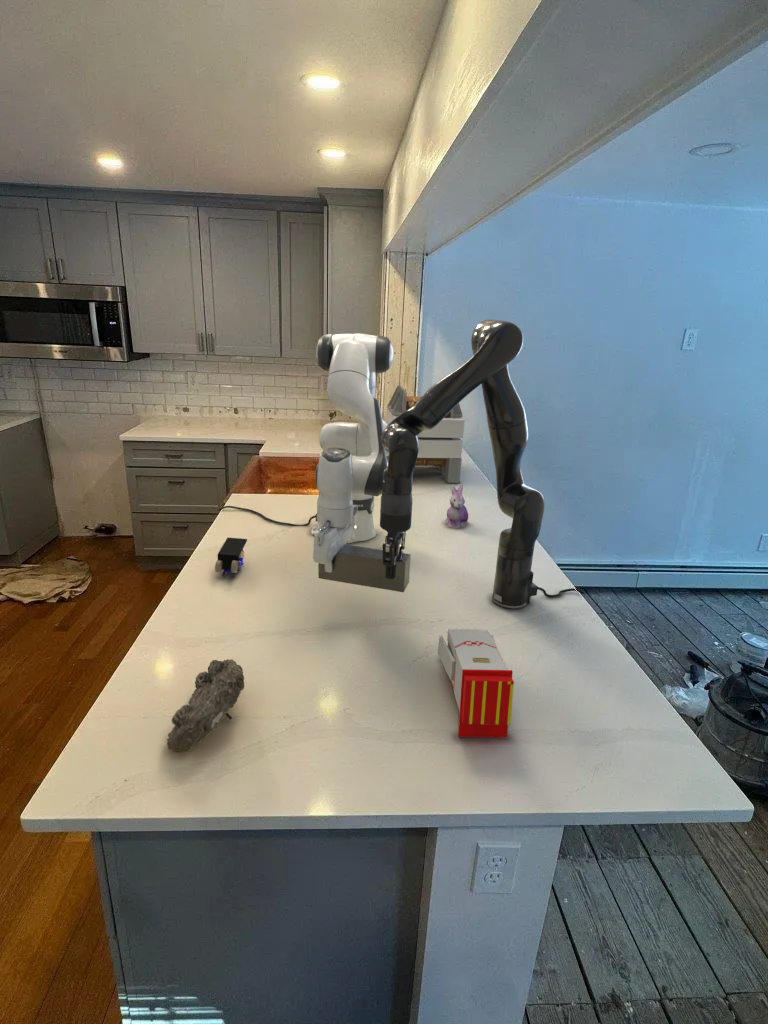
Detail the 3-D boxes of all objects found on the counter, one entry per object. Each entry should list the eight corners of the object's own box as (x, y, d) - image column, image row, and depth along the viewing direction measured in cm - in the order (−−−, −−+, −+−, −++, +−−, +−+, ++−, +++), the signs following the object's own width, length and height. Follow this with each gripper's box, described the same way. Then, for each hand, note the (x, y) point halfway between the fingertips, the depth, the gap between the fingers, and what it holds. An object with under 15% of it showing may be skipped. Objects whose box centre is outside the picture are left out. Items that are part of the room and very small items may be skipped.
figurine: (453, 530, 205) (457, 490, 200) (438, 521, 213) (441, 482, 208) (475, 527, 209) (479, 488, 204) (459, 517, 217) (462, 480, 212)
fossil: (192, 660, 117) (244, 628, 112) (224, 691, 120) (276, 661, 115) (142, 746, 98) (202, 712, 93) (182, 779, 101) (242, 748, 96)
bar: (318, 578, 144) (318, 549, 141) (326, 569, 149) (326, 541, 146) (403, 592, 138) (405, 562, 136) (408, 582, 143) (410, 554, 140)
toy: (488, 613, 130) (523, 677, 101) (484, 667, 133) (517, 744, 104) (435, 612, 130) (455, 676, 101) (432, 666, 133) (451, 743, 103)
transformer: (382, 463, 289) (386, 382, 275) (445, 464, 293) (451, 384, 279) (390, 482, 257) (394, 392, 243) (460, 483, 261) (468, 394, 247)
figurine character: (238, 584, 162) (249, 557, 175) (236, 562, 158) (247, 536, 172) (215, 584, 161) (227, 556, 175) (212, 561, 158) (225, 535, 171)
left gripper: (331, 531, 129) (331, 585, 134) (359, 504, 148) (358, 552, 153) (306, 527, 131) (306, 581, 136) (337, 500, 150) (336, 548, 154)
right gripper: (404, 521, 127) (400, 588, 133) (418, 501, 140) (414, 563, 146) (372, 516, 129) (370, 583, 135) (388, 498, 142) (386, 559, 148)
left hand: (334, 565), depth 144 cm, fingers closed on bar, 5 cm apart
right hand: (393, 572), depth 140 cm, fingers closed on bar, 5 cm apart
